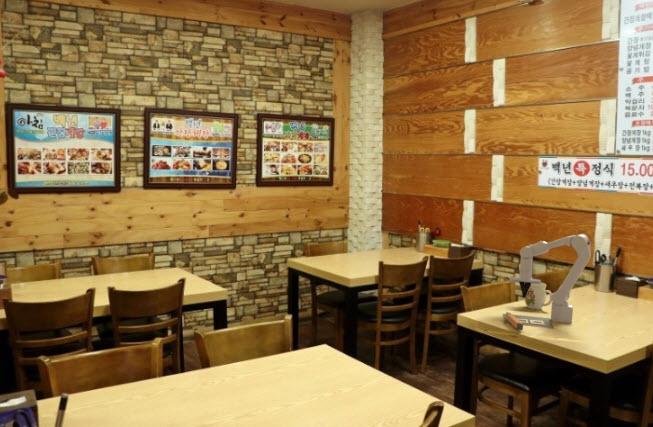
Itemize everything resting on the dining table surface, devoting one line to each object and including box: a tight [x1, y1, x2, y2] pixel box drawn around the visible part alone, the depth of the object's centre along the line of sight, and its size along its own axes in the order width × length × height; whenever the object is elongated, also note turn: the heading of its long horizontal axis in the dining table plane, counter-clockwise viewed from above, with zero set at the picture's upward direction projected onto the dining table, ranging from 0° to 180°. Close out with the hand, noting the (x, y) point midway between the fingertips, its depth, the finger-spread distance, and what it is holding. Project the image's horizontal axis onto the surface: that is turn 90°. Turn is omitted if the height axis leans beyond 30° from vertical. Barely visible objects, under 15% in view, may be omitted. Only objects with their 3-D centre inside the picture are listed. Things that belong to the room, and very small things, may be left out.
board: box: [502, 311, 555, 329], centre depth 272 cm, size 22×18×5 cm
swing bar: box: [507, 313, 524, 331], centre depth 260 cm, size 16×3×3 cm, turn 179°
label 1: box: [517, 318, 528, 324], centre depth 269 cm, size 6×6×1 cm
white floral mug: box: [523, 282, 553, 310], centre depth 299 cm, size 11×18×14 cm, turn 35°
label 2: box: [530, 320, 544, 326], centre depth 268 cm, size 6×6×1 cm
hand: (524, 297), depth 284 cm, fingers closed
